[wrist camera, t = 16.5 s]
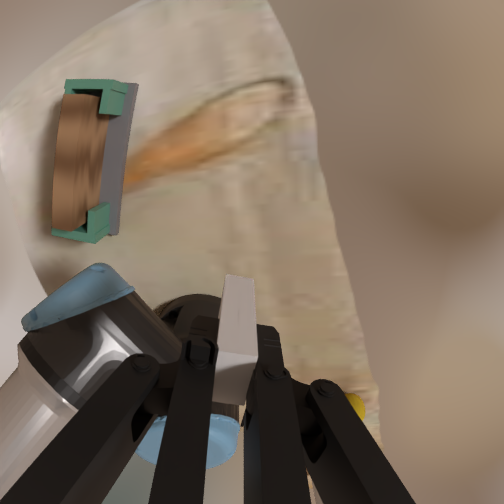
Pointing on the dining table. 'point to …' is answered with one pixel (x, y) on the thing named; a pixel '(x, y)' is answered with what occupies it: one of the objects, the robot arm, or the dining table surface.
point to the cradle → (106, 155)
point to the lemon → (357, 404)
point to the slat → (78, 160)
